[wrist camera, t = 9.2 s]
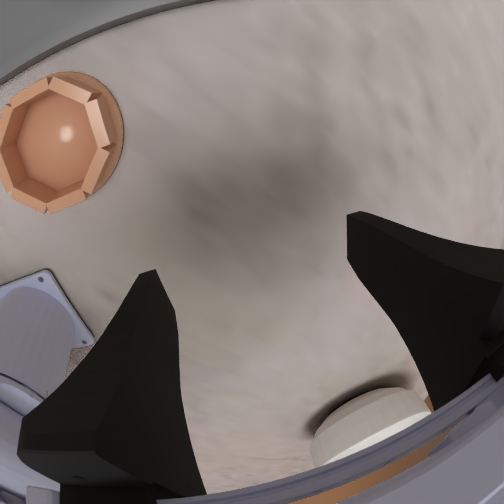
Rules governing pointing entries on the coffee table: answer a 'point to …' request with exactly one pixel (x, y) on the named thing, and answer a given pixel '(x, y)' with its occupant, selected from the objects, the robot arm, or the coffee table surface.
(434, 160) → the coffee table surface
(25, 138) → the terracotta cup
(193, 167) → the coffee table surface
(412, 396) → the bowl
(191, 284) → the coffee table surface
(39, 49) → the charcoal tray
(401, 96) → the coffee table surface
